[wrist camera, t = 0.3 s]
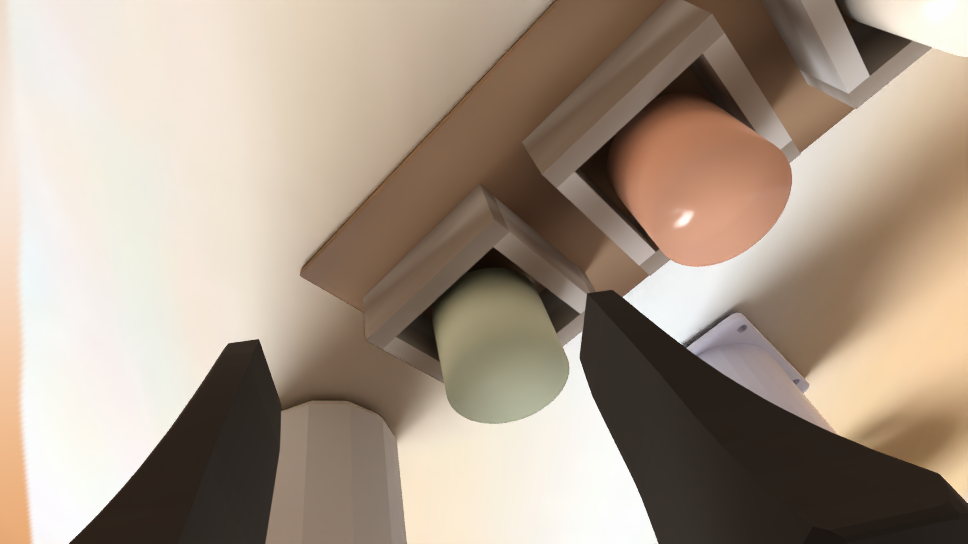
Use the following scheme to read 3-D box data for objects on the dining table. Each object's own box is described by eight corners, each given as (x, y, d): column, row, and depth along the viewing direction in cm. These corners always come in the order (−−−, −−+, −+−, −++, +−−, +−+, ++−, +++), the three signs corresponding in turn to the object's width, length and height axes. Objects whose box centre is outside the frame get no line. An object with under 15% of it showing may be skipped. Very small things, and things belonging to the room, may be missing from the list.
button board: (1000, -20, 21) (1082, -3, 19) (502, 387, 29) (516, 434, 27) (911, -376, 15) (1019, -416, 13) (300, 269, 23) (296, 319, 20)
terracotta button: (745, 147, 21) (813, 198, 18) (649, 228, 22) (698, 288, 19) (686, 64, 18) (753, 106, 15) (582, 160, 20) (626, 216, 17)
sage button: (560, 303, 24) (593, 369, 21) (484, 366, 25) (505, 438, 22) (488, 247, 21) (513, 314, 18) (408, 321, 22) (419, 394, 20)
